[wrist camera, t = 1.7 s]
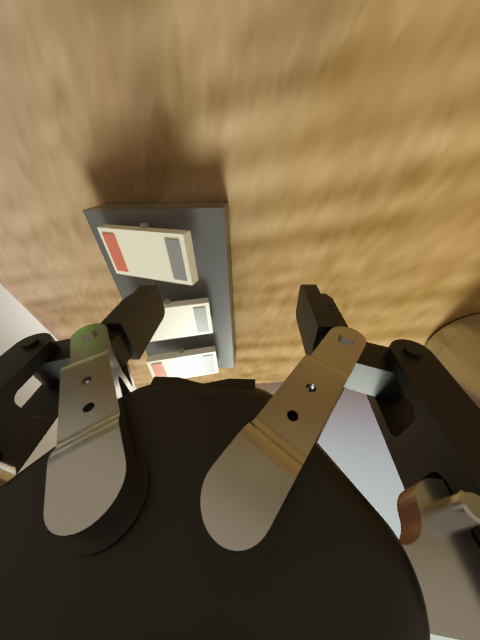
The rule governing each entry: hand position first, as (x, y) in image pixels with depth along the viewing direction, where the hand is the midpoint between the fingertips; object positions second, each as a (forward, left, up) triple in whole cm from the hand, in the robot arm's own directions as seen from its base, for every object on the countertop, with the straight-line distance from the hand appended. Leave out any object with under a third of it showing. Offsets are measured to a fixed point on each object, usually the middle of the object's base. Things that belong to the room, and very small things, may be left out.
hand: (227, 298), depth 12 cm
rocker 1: (+7, 0, -7) cm, 10 cm away
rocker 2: (+7, +7, -7) cm, 12 cm away
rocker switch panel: (+7, +7, -11) cm, 15 cm away
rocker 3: (+7, +14, -7) cm, 17 cm away
